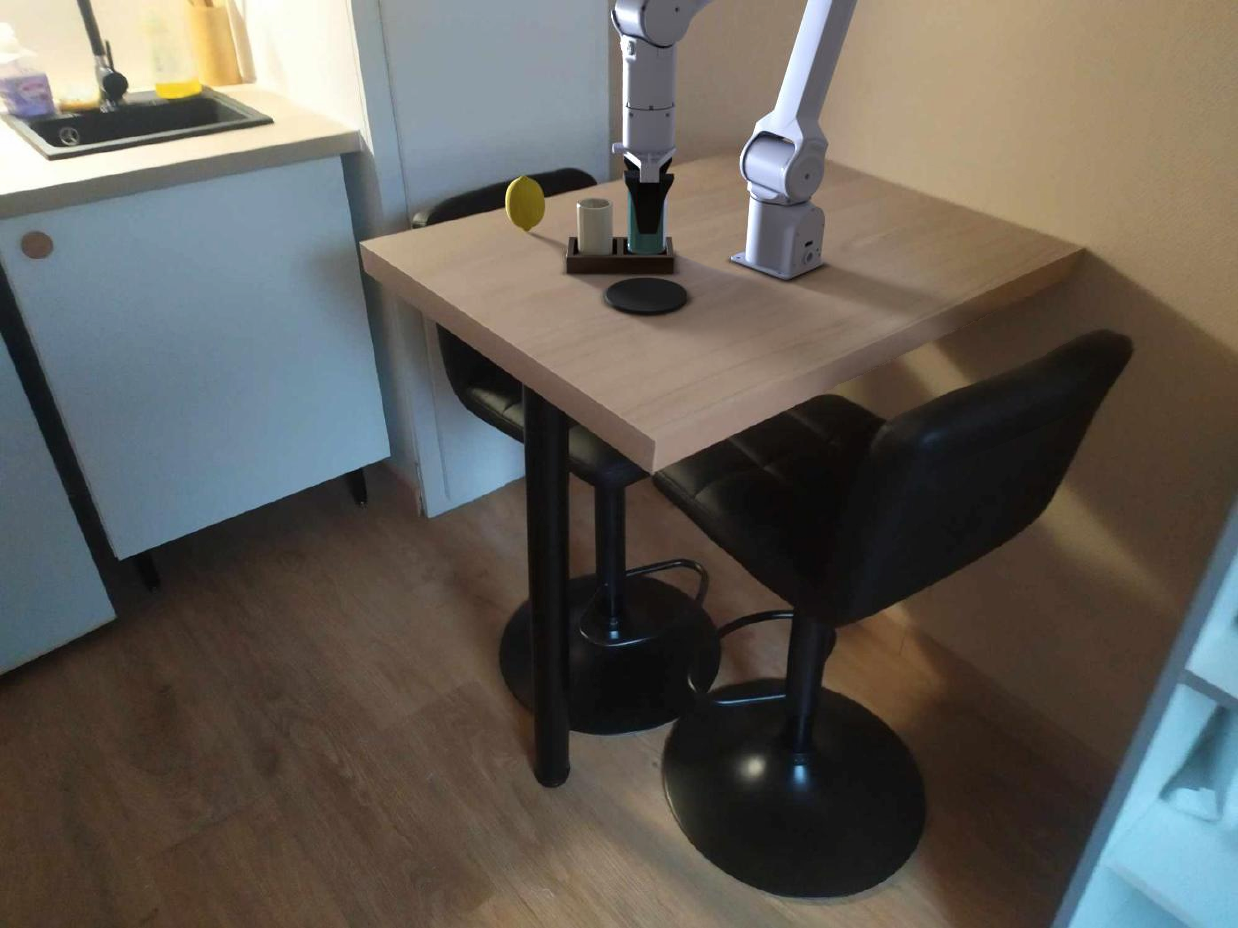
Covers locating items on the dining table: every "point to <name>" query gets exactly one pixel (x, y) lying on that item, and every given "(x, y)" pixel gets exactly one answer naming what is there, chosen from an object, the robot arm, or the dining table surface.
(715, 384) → the dining table surface
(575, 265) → the holder
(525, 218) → the lemon
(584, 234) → the cream cup
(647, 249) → the teal cup
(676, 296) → the coaster
